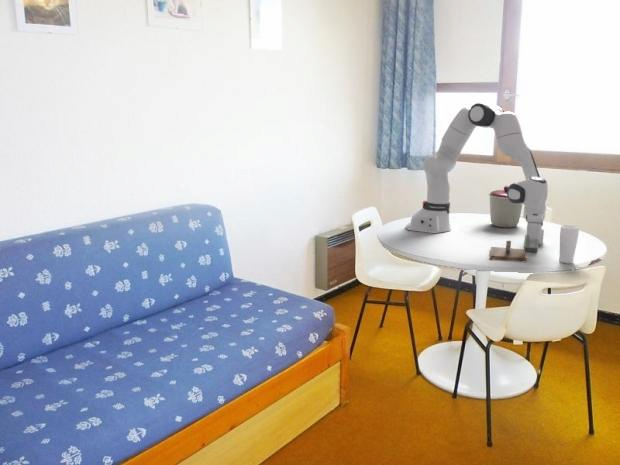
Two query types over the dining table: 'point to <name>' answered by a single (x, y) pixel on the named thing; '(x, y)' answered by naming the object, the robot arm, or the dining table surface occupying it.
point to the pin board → (508, 253)
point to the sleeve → (527, 243)
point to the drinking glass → (568, 243)
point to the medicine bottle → (539, 234)
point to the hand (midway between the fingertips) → (531, 244)
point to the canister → (503, 209)
